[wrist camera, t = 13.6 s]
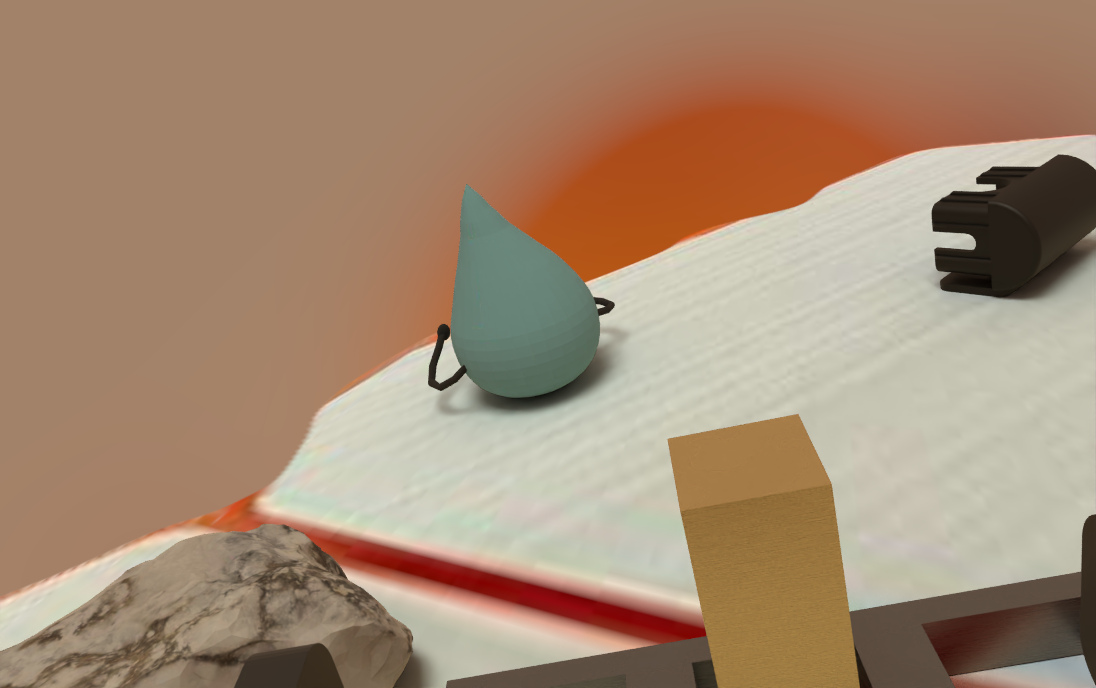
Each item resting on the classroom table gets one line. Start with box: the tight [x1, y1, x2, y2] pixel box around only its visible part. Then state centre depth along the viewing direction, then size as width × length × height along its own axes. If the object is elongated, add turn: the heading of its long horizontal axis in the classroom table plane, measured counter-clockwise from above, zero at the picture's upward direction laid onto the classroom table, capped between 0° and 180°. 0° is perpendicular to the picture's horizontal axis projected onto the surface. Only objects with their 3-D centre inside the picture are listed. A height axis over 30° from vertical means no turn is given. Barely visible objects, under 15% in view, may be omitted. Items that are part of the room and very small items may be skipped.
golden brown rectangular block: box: [668, 414, 860, 688], centre depth 28 cm, size 4×4×12 cm
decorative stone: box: [0, 524, 413, 688], centre depth 37 cm, size 20×14×10 cm
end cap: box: [932, 155, 1096, 297], centre depth 61 cm, size 10×7×7 cm
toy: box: [428, 184, 615, 398], centre depth 61 cm, size 15×12×15 cm
